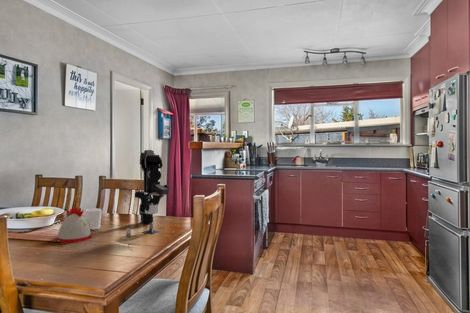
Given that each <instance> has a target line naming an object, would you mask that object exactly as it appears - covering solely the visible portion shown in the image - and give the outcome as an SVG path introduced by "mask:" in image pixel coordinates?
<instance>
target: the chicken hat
mask: <svg viewBox="0 0 470 313" xmlns="http://www.w3.org/2000/svg"><path fill="white" fill-rule="evenodd" d="M66 213H67V216H66V217H65V219H64V220H63V221H62V223H61V225H60V227H59V230H58V233H57V238H58V240H59V241H58V240H57V241H58V243H59V242H60V243H65V244H69V243H80V242H84V241H88V240H90V239H91V237H92V234H91V233H92V230H90V228H89V223H88V222H87V221H86V217H84V216H83V213H84V210H82V207H79V208H78V206H76V207H75V206H72V208H70V209H69V211H67V212H66Z"/></svg>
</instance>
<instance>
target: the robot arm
mask: <svg viewBox="0 0 470 313" xmlns="http://www.w3.org/2000/svg"><path fill="white" fill-rule="evenodd" d="M139 165H140V169H141V170H142V172H143V190H137V191H135V192H134V198H137V199H139V200H140V203H139V207H138V215H139V216H140V224H142V225H149V223H153V224H154V214H146V213H145V209H146V211H148V210H149V203H156V204H158V205H159V204H160V201H161V199H162V198H163V197H165V195H168V194H169V191H170V186H169V185H168V184H164V185H163V184H162V185H161V182H160V181H159V180H160V179H161V178H162V172H161V171H160V169H162V167H163V159H162V157H161V156H160V155H159V154H155V152H154V150H152V149H145V150H143V153H141V155H140V156H139Z"/></svg>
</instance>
